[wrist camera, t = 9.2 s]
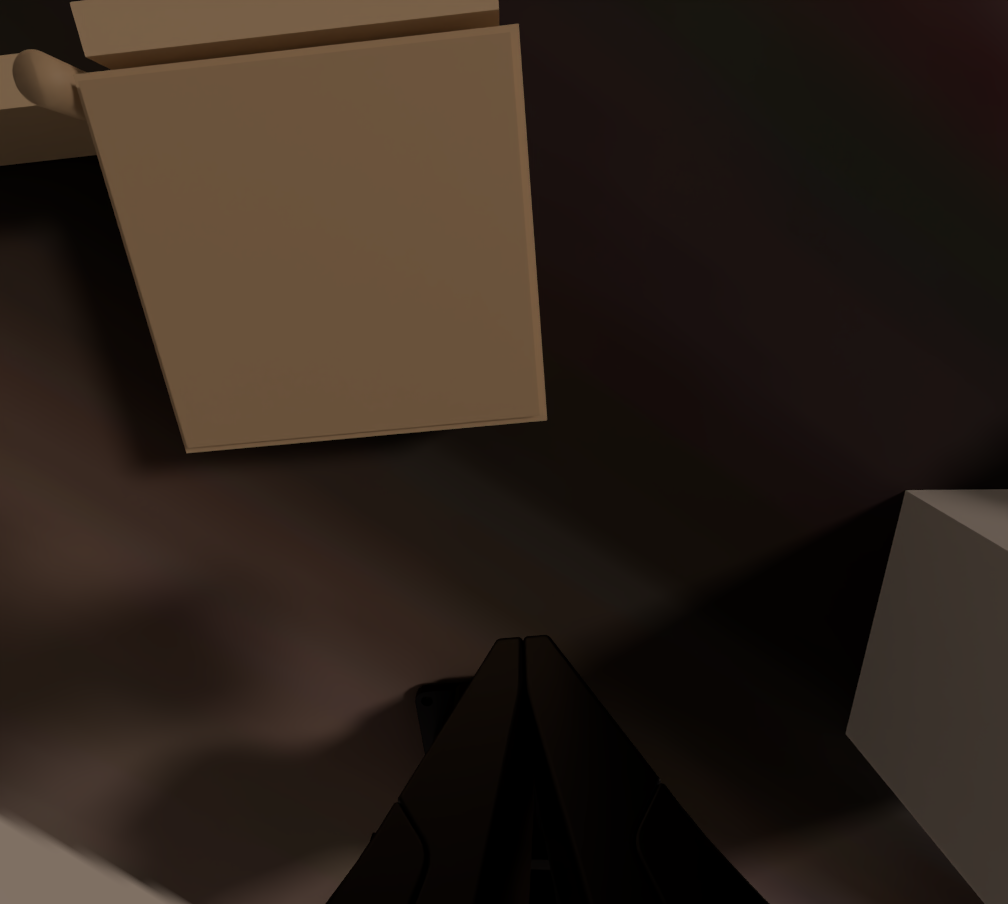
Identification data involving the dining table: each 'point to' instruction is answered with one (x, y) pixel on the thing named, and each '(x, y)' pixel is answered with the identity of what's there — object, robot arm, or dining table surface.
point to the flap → (40, 110)
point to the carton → (322, 211)
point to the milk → (944, 678)
